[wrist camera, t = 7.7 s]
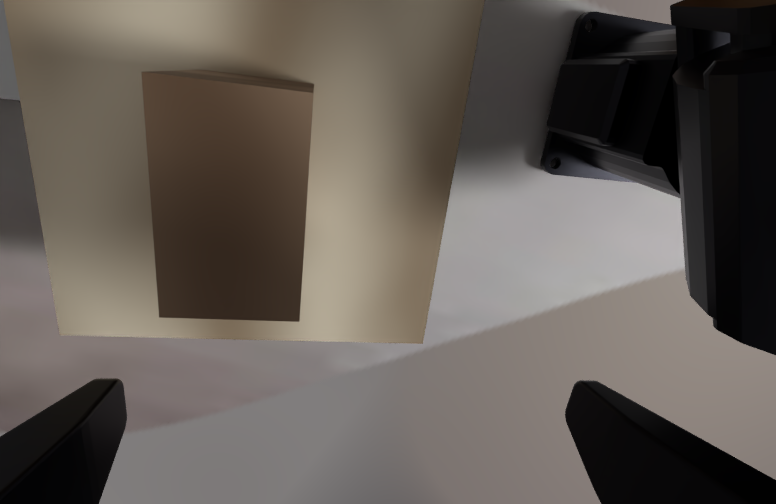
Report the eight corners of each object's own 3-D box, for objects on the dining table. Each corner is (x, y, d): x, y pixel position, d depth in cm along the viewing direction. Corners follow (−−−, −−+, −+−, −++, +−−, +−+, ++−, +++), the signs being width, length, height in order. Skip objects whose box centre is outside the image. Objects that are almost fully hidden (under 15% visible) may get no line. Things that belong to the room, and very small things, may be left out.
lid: (478, -25, 13) (580, -82, 8) (416, 329, 17) (458, 436, 12) (10, -111, 11) (-257, -266, 6) (75, 318, 15) (-44, 444, 10)
